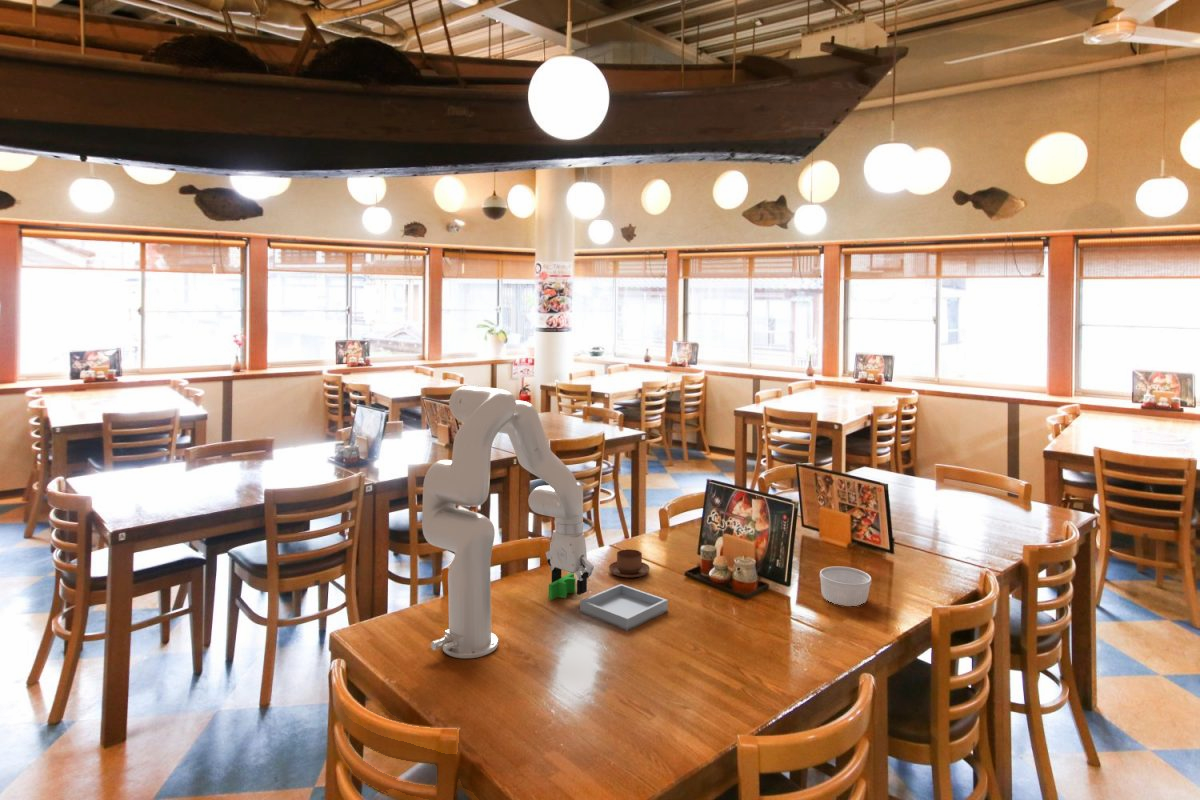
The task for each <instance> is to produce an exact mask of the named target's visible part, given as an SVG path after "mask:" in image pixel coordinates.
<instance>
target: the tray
mask: <svg viewBox="0 0 1200 800" xmlns="http://www.w3.org/2000/svg"><path fill="white" fill-rule="evenodd" d="M668 606H669V600H668V599H666V598H664V597H660V596H657V595H655V594H651V593H648V592H645V591H642V590H639V589H638V588H634V587H631V586H628V585H625V584H622V583H620V584H617V585H614V586H612V587H610V588H608V589H605V590H603V591H601V592H598V593H596V594H593V595H590V596H588V597H586V598H584V599H581V600H580V601H579V612H580V613H581V614H584V615H587V616H588V617H591V618H594V619H597V620H599V621H601V622H604V623H606V624H610V625H611V626H615V627H617V628H619V629H622V630H624V631H627V632H628V631H630V630H632V629H634V628H636V627H639V626H641V625H642V624H644V623H646V622H649V621H650V620H652V619H654V618H656V617H658V616H661V615H663V614H665V613H666V612H668V609H669V608H668Z"/></svg>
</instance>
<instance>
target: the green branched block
mask: <svg viewBox="0 0 1200 800" xmlns="http://www.w3.org/2000/svg"><path fill="white" fill-rule="evenodd" d="M575 593H576V577H575V573H570V572H569V573H568V574H567V575H564V576H563V577H562V576H561V578H560V579H558V580H556V581H554V582H553V583H552V582H551V583H549V584H548V599H549V600H551V601H552V600H554V599H556V598H561V599H566V598H567V597H568V596H567V595H568V594H575Z"/></svg>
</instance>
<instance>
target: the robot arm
mask: <svg viewBox="0 0 1200 800" xmlns="http://www.w3.org/2000/svg"><path fill="white" fill-rule="evenodd" d="M448 406H449V411H450V413H451V414H452V416H453V418H455V420H456V421H458V422H461V423H462V424H461V426H460V427H459V429H458V430H457V432H456V434H455V436H454V440H453V445H452V456H451V459H442V460H441V459H440V460H437V461H435V462H434V463H432V465H431V466H430V467H429V469H428V470H427V471H426V474H425V476H424V480H423V487H422V488H423V489H422V514H421V515H422V516H421V517H422V518H421V526H422V527H421V528H422V529H421V530H422V534H423V537H424V539H425V540H426V542H427V543H428V544H430V545H431V546H434V547H436V548H440V549H444V550H446V551H447V550H448V551H450V552H453V553H454V557H453V559H452V561H451V564H450V565H449V567H448V571H447V590H448V592H447V595H448V597H447V598H448V629H446V630H445V631H444V635H443V636H442V637H441V638H439V639H435V640H433V641H432V642H430V648H431V650H433V651H437V650H439V649H441V648H442V651H443V652H444V653H445V654H446V655H448V656H450V657H453V658H456V659H457V658H458V659H475V658H480V657H484V656H486V655H489V654H491V653H493V652H494V651H495V650H496V649H497V648H498V646H499V637H498V636H497V635H496V634H494V633H493V632H492V594H491V591H492V588H491V586H492V582H491V564H492V563H491V561H492V559H491V558H492V551H493V546H494V541H495V531H496V530H495V527H494V524H493V522H492V521H491V519H490V518H488V517H487V516H485V515H484V514H482V513H480V512H476V511H472V510H467V509H462V508H461V509H460V508H457V507H456V506H457V505H460V506H465V507H478V506H481V505H483V504H484V503H485V502H487V500H488V497H489V493H490V481H491V480H490V478H491V477H490V476H491V462H492V460H491V458H492V446H493V443H494V441H495V438H496V436H497V435H498V434H499V433H501V434H506V435H507V436H508V438H509V441H510V442H511V443H510V444H511V445H512V447H513V450H514V453H515V456H516V459H517V461H518V464H519V465H520V466H521V467H522V468H523V469H525V470H526V471H527V472H528V473H530V474H531V475H534V476H535V477H537V478H539V479H540V480H541V481H544V482H545V483H546V485H545V484H544V485H539V486H537V487H535V488H533V489H532V490H531V491H530V494H529V496H528V501H527V503H528V506H529V508H530V509H531V511H532V512H534V513H536V514H539V515H543V516H547V517H552V518H554V520H553V524H554V530H553V531H552V533H551V540H550V550H548V551H546V552H545V556H546V560H547V563H548V565H549V570H550V571H551V583H553V582H554V581H556V580H558V579H560V578H562V571H564V572H568V573H569V574H570V573H574V574H575V575H576V577H577V578H578V579H577V580H576V594H577V595H578V596H581V595H582V594H585V593H587V590H588V583H587V582H588V580H587V579H589V578H590V577H591V575H592V574H593V573H592V572H593V570H594V565H593V563H591V562H590V560H589V559H587V545H586V537H585V533H584V521H583V520H584V487H583V484H581V482H579V481H577V479H576V477H575V476H574V474H573V472H572V471H571V470H570V468H568V467H567V465H566V464H565V463H564V462H563V461H562V460H561V459H560V458H559V457H558V456H557V455H556V454H554V452H553V451H552V450H551V447H550V444H549V442H548V439H547V436H546V435H547V434H546V433H545V430H544V428H543V427H544V426H543V425H542V421H541V419H540V417H539V412H538V410H537V409H536V407H535V406H534V405H533V404H532V403H531V402H528V401H526V400H525V401H524V400H520V399H518V400H517V399H516V397H515V395H514V394H512V392H510V391H508V390H506V389H502V388H495V387H480V386H470V385H469V386H468V385H467V386H465V385H464V386H459V387H458V388H456V389H454V391H453V392H452V394H451V395H450V396H449V401H448Z"/></svg>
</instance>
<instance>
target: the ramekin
mask: <svg viewBox="0 0 1200 800" xmlns="http://www.w3.org/2000/svg"><path fill="white" fill-rule="evenodd" d="M819 578H820V590H821V596H822V597H823V599H824V600H825V599H826V600H825V601H827V600H828V601H829V603H830V602H832V603H834V604H833V605H835V604H838V605H845V606H857V605H861V604H863V603H864V604H866V602H867V601H868V598H869V593H870V588H871V585H872V577H871V575H870V574H869V573H867V572H865V571H863V570H860V569H857V568H855V567H848V566H835V565H833V566H828V567H824V568H822V569H821V570H820V571H819ZM828 601H827V602H828ZM832 603H831V604H832ZM864 604H863V605H864ZM838 605H837V606H838ZM861 606H862V605H861ZM857 607H858V606H857Z"/></svg>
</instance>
